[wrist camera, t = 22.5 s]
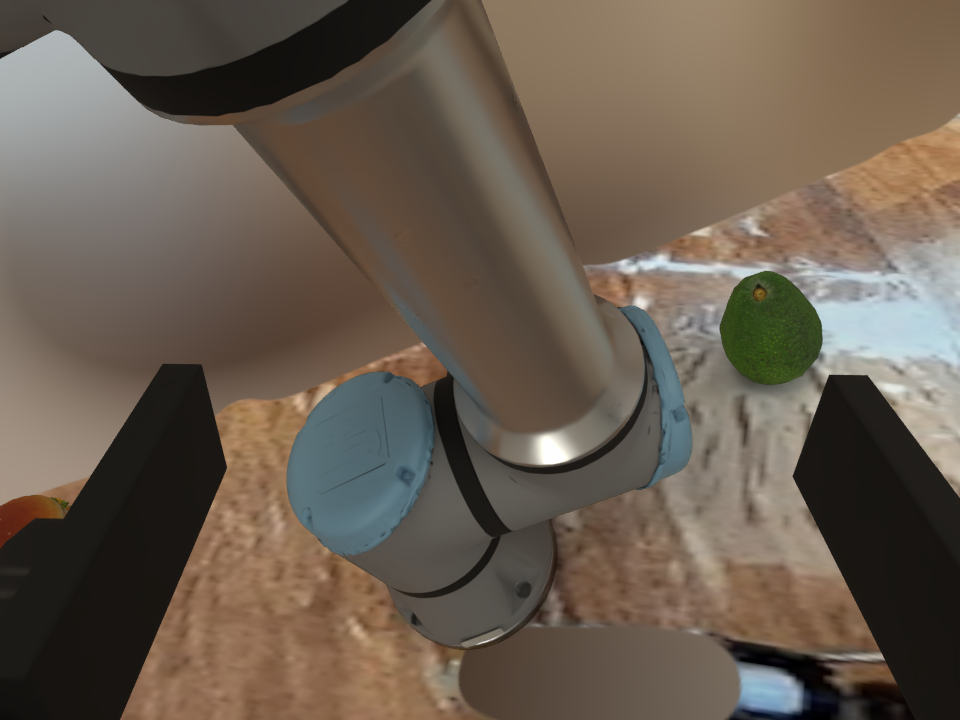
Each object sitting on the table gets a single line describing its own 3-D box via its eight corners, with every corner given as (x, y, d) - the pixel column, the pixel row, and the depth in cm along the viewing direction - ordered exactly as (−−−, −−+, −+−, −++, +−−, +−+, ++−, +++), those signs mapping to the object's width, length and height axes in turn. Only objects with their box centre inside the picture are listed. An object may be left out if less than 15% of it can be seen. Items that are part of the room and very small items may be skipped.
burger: (60, 649, 75) (-26, 624, 68) (-9, 610, 82) (-94, 584, 74) (132, 529, 81) (61, 494, 73) (62, 502, 88) (-10, 467, 80)
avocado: (707, 365, 66) (690, 284, 57) (774, 314, 67) (767, 226, 57) (772, 421, 61) (765, 343, 52) (844, 366, 61) (849, 278, 52)
